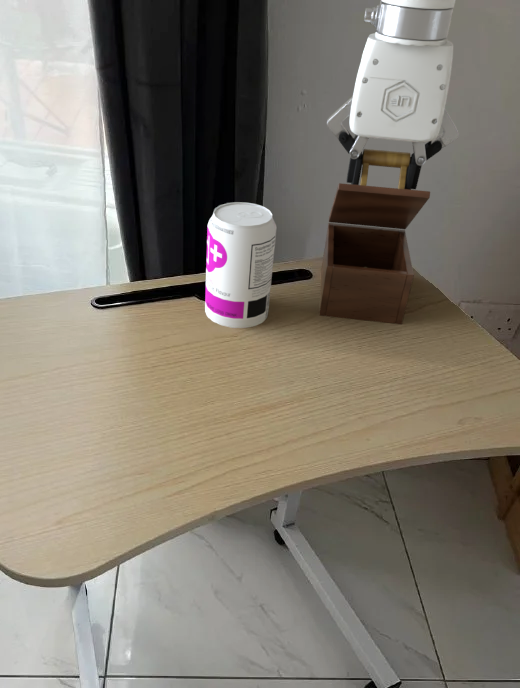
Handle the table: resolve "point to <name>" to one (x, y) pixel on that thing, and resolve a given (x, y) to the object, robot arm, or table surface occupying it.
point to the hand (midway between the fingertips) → (379, 189)
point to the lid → (378, 196)
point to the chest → (365, 273)
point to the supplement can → (239, 264)
